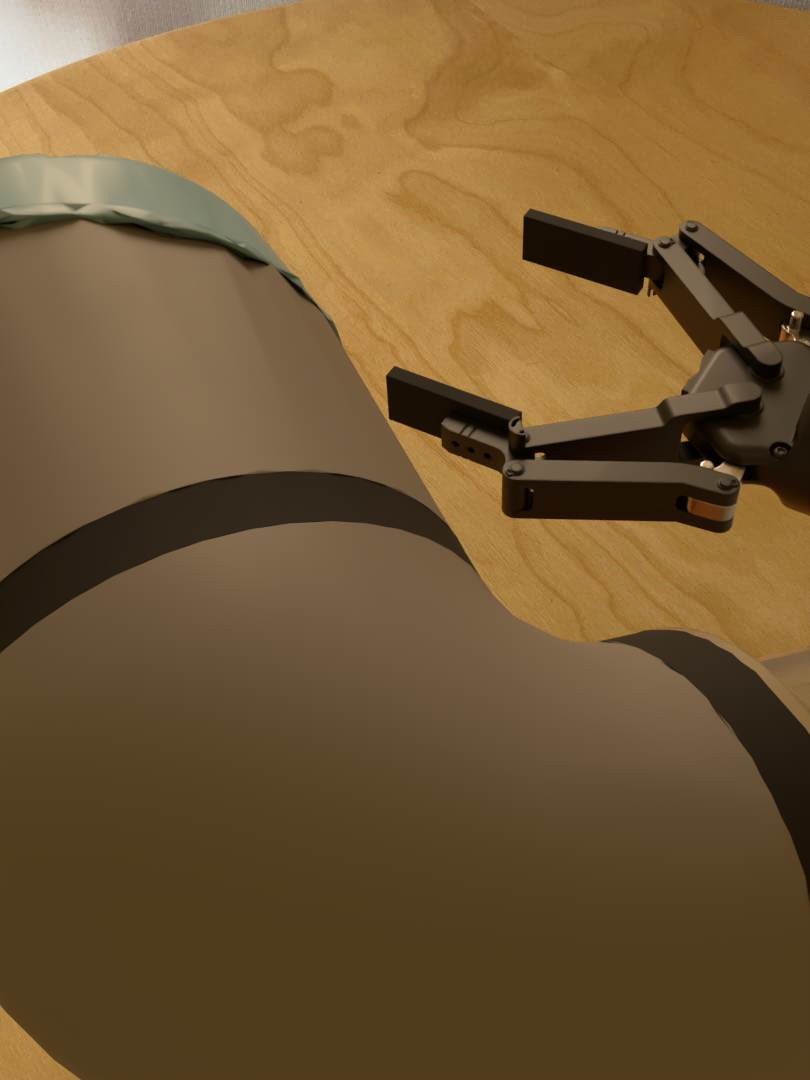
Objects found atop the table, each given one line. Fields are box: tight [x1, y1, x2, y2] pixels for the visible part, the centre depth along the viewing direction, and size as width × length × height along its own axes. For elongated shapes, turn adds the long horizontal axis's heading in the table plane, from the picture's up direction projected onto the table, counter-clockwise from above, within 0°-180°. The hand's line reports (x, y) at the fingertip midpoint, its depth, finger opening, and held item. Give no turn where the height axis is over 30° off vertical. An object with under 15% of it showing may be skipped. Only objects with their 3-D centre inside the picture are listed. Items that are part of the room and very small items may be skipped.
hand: (461, 308), depth 65 cm, fingers open, 13 cm apart
